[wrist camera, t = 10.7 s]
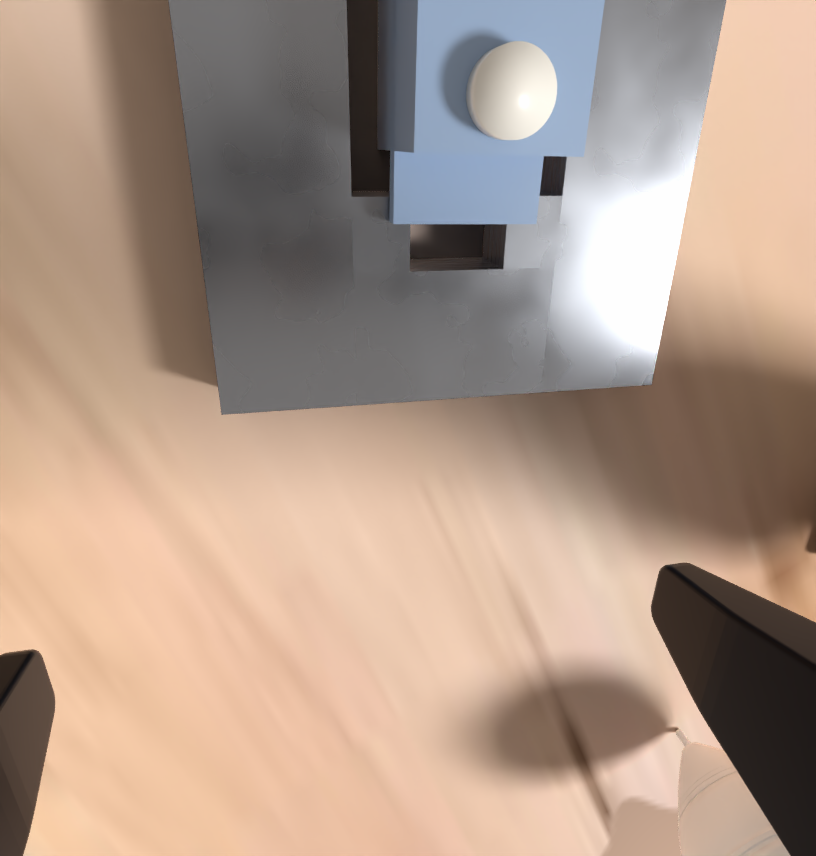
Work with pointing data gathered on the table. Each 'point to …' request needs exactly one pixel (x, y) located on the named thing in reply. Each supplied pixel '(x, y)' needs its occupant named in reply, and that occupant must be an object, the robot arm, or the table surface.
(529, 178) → the servo
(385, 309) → the chassis plate
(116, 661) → the table surface
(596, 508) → the table surface
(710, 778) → the spinning top
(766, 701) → the robot arm
